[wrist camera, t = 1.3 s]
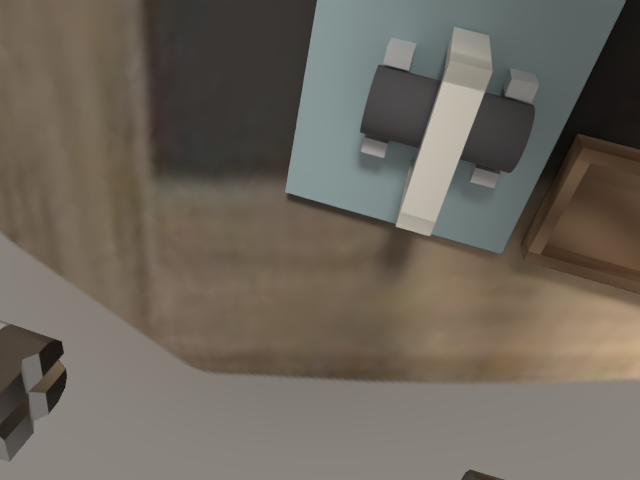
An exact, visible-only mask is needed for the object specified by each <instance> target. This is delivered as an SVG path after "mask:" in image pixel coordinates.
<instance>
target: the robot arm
mask: <svg viewBox="0 0 640 480" xmlns="http://www.w3.org/2000/svg"><path fill="white" fill-rule="evenodd" d="M63 354H64V351H63V345H62V341H59V340H56V339H53V338H50V337H47V336H44V335H41V334H38V333H36V332H33V331H30V330H27V329H24V328H21V327H18V326H15V325H12V324H9V323H6V322H3V321H0V459H2V460H5V461H9V462H10V461H11V460H12V458H13V457H14V456H15V454H16V453H17V452H18V451H19V450H20V448H21V447H22V446H23V445H24V444H25V442H26V441H27V440H28V439H29V438H30V436H31V435H32V434H33V433H34V421H35V420H37V419H39V418H41V417H43V416H45V415H47V414H49V413H50V412H51V411H52V409H53V408H54V406H55V405H56V404H57V403H58V401H59V399H60V397H61V395H62V393H63V391H64V389H65V385H66V380H67V373H66V368H65V367H64V365H63V364H62V363H61V362H60V360H59V358H60V357H61V356H62V355H63ZM461 480H503V479H500V478H496V477H493V476H490V475H486V474H483V473H480V472H476V471H473V470H469V471H467V472H466V473H465V475H464V476H463V478H462V479H461Z"/></svg>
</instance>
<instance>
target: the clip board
mask: <svg viewBox="0 0 640 480" xmlns="http://www.w3.org/2000/svg"><path fill="white" fill-rule="evenodd" d="M625 2H626V0H317V5H316V11H315V17H314V23H313V29H312V35H311V41H310V47H309V53H308V59H307V65H306V71H305V77H304V83H303V89H302V95H301V101H300V107H299V113H298V119H297V125H296V131H295V137H294V143H293V149H292V155H291V161H290V167H289V173H288V179H287V185H286V191H285V192H286V193H290V194H293V195H297V196H300V197H304V198H307V199H311V200H314V201H318V202H321V203H325V204H328V205H332V206H335V207H339V208H342V209H346V210H349V211H353V212H356V213H360V214H363V215H367V216H370V217H374V218H377V219H381V220H384V221H387V222H391V223H394V224H396V222H397V217H398V213H399V208H400V204H401V199H402V195H403V190H404V186H405V181H406V177H407V173H408V169H409V166H410V163H411V160H415V161H416V158H417V154H418V151H419V148H415V147H412V146H408V145H404V144H401V143H397V142H394V141H390V140H386V139H383V138H379V137H375V136H372V135H368V134H364V133H361V132H360V128H361V123H362V118H363V114H364V109H365V106H366V102H367V98H368V94H369V91H370V87H371V84H372V81H373V78H374V75H375V72H376V69H377V67H378V65H383V66H387V67H390V68H394V69H398V70H402V71H406V72H409V73H413V74H417V75H421V76H425V77H429V78H432V79H436V80H440V81H442V78H443V74H444V71H445V64H446V57H447V51H448V44H449V41H450V38H451V35H452V32H453V29H454V27H458V28H461V29H465V30H469V31H473V32H477V33H481V34H485V35H489V39H490V49H491V59H492V69H493V72H492V75H491V77H490V80H489V82H488V85H487V88H486V90H485V92H486V93H490V94H494V95H497V96H501V97H505V98H509V99H513V100H517V101H520V102H524V103H528V104H532V105H534V107H535V117H534V122H533V126H532V130H531V133H530V137H529V140H528V142H527V145H526V148H525V150H524V152H523V154H522V157H521V159H520V161H519V162H518V164H517V166H516V167H515V169H514V170H513V171H512V172H511V173H507V172H503V171H500V170H496V169H492V168H489V167H485V166H481V165H478V164H474V163H470V162H467V161H463V160H459V161H458V164H457V167H456V169H455V172H454V175H453V177H452V180H451V183H450V185H449V188H448V190H447V193H446V196H445V198H444V201H443V204H442V206H441V209H440V211H439V214H438V217H437V219H436V222H435V225H434V227H433V230H432V233H431V234H433V235H436V236H440V237H443V238H447V239H450V240H454V241H457V242H461V243H464V244H468V245H471V246H475V247H478V248H482V249H485V250H489V251H492V252H496V253H499V254H502V252H503V250H504V248H505V246H506V244H507V242H508V240H509V238H510V236H511V234H512V232H513V229H514V227H515V225H516V223H517V221H518V219H519V217H520V215H521V213H522V211H523V209H524V207H525V205H526V203H527V201H528V199H529V197H530V195H531V193H532V191H533V189H534V187H535V185H536V183H537V181H538V179H539V177H540V175H541V173H542V171H543V168H544V166H545V164H546V162H547V160H548V158H549V156H550V154H551V152H552V150H553V148H554V146H555V144H556V142H557V140H558V138H559V136H560V134H561V132H562V130H563V128H564V126H565V124H566V122H567V120H568V118H569V116H570V114H571V112H572V110H573V107H574V105H575V103H576V101H577V99H578V97H579V95H580V93H581V91H582V89H583V87H584V85H585V83H586V81H587V79H588V77H589V75H590V73H591V71H592V69H593V67H594V65H595V63H596V61H597V59H598V57H599V55H600V53H601V51H602V49H603V47H604V44H605V42H606V40H607V38H608V36H609V34H610V32H611V30H612V28H613V26H614V24H615V22H616V20H617V18H618V16H619V14H620V12H621V10H622V8H623V6H624V4H625Z"/></svg>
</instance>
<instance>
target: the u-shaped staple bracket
mask: <svg viewBox="0 0 640 480" xmlns="http://www.w3.org/2000/svg"><path fill="white" fill-rule="evenodd" d="M492 72H493V69H492V59H491V49H490V39H489V35H485V34H481V33H477V32H473V31H469V30H465V29H461V28H458V27H454V29H453V32H452V35H451V38H450V41H449V44H448V51H447V57H446V64H445V71H444V74H443V78H442V81H441V84H440V87H439V90H438V93H437V96H436V99H435V102H434V105H433V108H432V111H431V114H430V118H429V121H428V124H427V127H426V130H425V133H424V136H423V139H422V142H421V145H420V148H419V151H418V154H417V158H416V161H415V160H411V163H410V166H409V169H408V173H407V177H406V181H405V186H404V190H403V195H402V199H401V204H400V208H399V213H398V217H397V222H396V226H395V227H399V228H402V229H406V230H409V231H413V232H416V233H420V234H423V235H426V236H430V235H431V233H432V230H433V227H434V225H435V222H436V219H437V217H438V214H439V211H440V209H441V206H442V204H443V201H444V198H445V196H446V193H447V190H448V188H449V185H450V183H451V180H452V177H453V175H454V172H455V169H456V167H457V164H458V161H459V159H460V156H461V154H462V151H463V148H464V146H465V143H466V140H467V138H468V135H469V132H470V130H471V127H472V125H473V122H474V119H475V117H476V114H477V111H478V109H479V106H480V104H481V101H482V98H483V96H484V93H485V90H486V88H487V85H488V82H489V80H490V77H491V75H492Z"/></svg>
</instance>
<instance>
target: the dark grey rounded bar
mask: <svg viewBox="0 0 640 480" xmlns="http://www.w3.org/2000/svg"><path fill="white" fill-rule="evenodd" d="M440 84H441V81H440V80H436V79H432V78H429V77H425V76H421V75H417V74H413V73H409V72H406V71H402V70H398V69H394V68H390V67H387V66H383V65H378V67H377V69H376V72H375V75H374V78H373V81H372V84H371V87H370V91H369V94H368V98H367V102H366V106H365V109H364V114H363V118H362V123H361V128H360V132H361V133H364V134H368V135H372V136H375V137H379V138H383V139H386V140H390V141H394V142H397V143H401V144H404V145H408V146H412V147H415V148H420V145H421V142H422V139H423V136H424V133H425V130H426V127H427V124H428V121H429V118H430V114H431V111H432V108H433V105H434V102H435V99H436V96H437V93H438V90H439V87H440ZM534 117H535V107H534V105H532V104H528V103H524V102H520V101H517V100H513V99H509V98H505V97H501V96H497V95H494V94H490V93H486V92H485V93H484V96H483V98H482V101H481V104H480V106H479V109H478V111H477V114H476V117H475V119H474V122H473V125H472V127H471V130H470V132H469V135H468V138H467V140H466V143H465V146H464V148H463V151H462V154H461V156H460V159H459V160H463V161H467V162H470V163H474V164H478V165H481V166H485V167H489V168H492V169H496V170H500V171H503V172H507V173H511V172H512V171H513V170H514V169H515V167H516V166H517V164H518V162H519V161H520V159H521V157H522V154H523V152H524V150H525V148H526V145H527V142H528V140H529V137H530V133H531V130H532V126H533V122H534Z"/></svg>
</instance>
